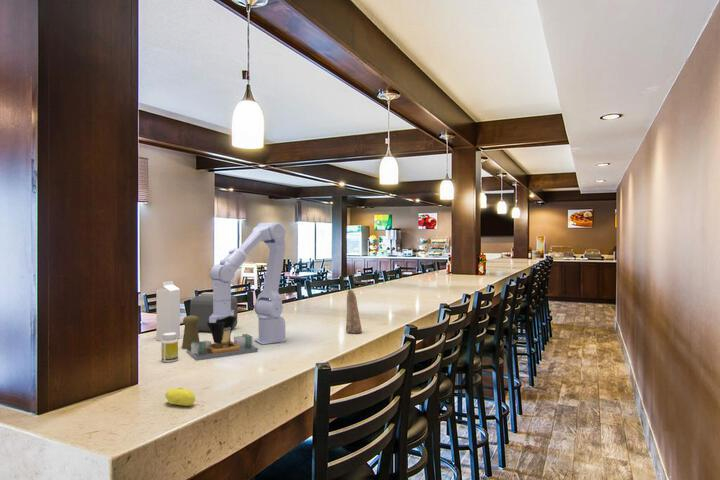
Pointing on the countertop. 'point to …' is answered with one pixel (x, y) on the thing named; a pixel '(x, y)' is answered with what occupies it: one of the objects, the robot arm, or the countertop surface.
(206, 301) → the dark grey rounded block
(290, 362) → the countertop surface
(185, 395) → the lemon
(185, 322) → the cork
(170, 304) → the milk
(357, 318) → the brown tapered stone
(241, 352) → the bench plate
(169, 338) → the supplement bottle
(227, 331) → the tan and grey cylinder
